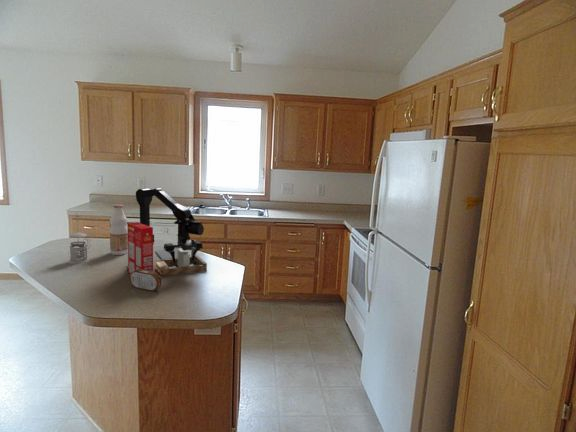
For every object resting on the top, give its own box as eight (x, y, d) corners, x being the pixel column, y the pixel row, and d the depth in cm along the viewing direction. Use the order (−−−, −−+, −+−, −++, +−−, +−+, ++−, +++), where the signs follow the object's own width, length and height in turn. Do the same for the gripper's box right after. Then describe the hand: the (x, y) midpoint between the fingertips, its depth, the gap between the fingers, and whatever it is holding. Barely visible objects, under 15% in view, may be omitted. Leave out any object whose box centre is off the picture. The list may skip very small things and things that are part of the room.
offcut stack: (160, 275, 185) (160, 268, 184) (155, 267, 196) (155, 261, 195) (169, 274, 187) (169, 267, 186) (163, 266, 198) (163, 260, 197)
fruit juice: (108, 255, 212) (107, 206, 207) (112, 251, 221) (111, 203, 216) (126, 255, 214) (125, 206, 209) (129, 250, 223) (128, 204, 218)
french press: (63, 261, 197) (61, 214, 193) (83, 256, 208) (81, 211, 203) (77, 264, 193) (75, 216, 189) (96, 259, 204) (94, 213, 200)
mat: (162, 260, 208) (162, 259, 208) (155, 252, 223) (155, 250, 223) (187, 257, 215) (187, 256, 215) (179, 250, 230) (179, 248, 230)
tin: (162, 290, 165) (162, 272, 163) (157, 293, 162) (157, 274, 161) (134, 285, 170) (133, 267, 168) (129, 287, 167) (128, 269, 165)
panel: (183, 271, 191) (183, 254, 190) (177, 265, 201) (177, 248, 200) (189, 271, 193) (189, 254, 191) (183, 264, 203) (183, 248, 201)
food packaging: (153, 279, 178) (152, 227, 174) (142, 281, 175) (141, 228, 170) (138, 271, 188) (138, 222, 184) (128, 273, 184) (127, 223, 180)
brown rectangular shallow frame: (163, 276, 183) (163, 268, 183) (155, 265, 198) (155, 258, 198) (206, 270, 194) (206, 263, 193) (196, 261, 209) (196, 254, 209)
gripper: (168, 237, 182) (168, 268, 185) (206, 235, 192) (205, 264, 194) (163, 232, 192) (163, 262, 194) (199, 230, 201) (199, 258, 204)
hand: (183, 262), depth 196 cm, fingers open, 9 cm apart
